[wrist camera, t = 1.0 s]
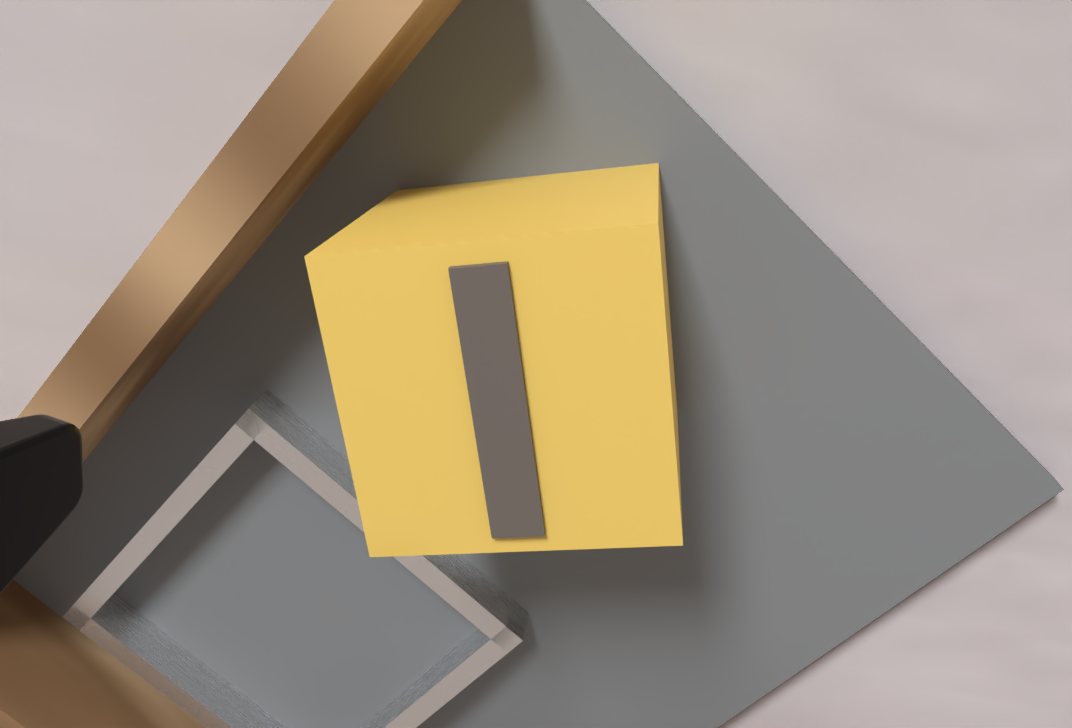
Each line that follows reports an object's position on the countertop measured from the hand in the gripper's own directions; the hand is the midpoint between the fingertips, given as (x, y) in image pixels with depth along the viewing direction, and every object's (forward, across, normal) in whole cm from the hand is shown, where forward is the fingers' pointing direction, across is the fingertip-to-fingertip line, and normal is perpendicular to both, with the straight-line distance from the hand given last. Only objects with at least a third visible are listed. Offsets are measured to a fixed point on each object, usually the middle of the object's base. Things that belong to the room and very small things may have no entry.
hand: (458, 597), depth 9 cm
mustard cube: (+13, +2, +2) cm, 13 cm away
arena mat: (+13, +4, +9) cm, 16 cm away
